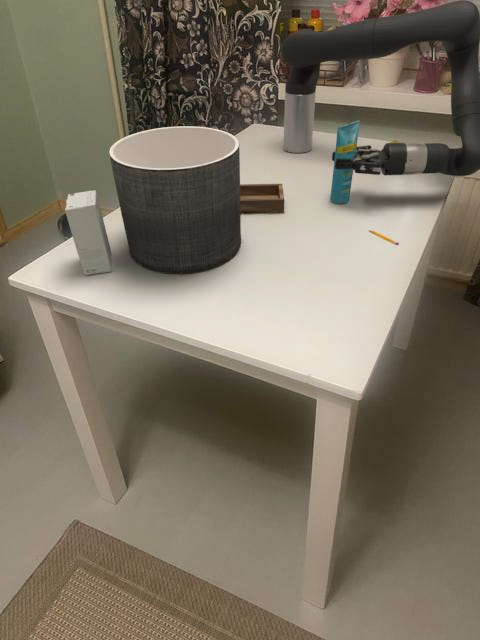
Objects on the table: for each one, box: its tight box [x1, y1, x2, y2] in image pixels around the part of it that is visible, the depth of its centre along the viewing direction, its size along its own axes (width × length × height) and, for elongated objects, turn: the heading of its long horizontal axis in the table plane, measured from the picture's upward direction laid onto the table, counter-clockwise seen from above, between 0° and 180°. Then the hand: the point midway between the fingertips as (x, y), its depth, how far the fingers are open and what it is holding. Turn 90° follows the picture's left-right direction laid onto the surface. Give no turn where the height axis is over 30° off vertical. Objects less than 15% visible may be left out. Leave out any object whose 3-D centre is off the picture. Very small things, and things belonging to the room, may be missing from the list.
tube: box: [329, 119, 361, 205], centre depth 116 cm, size 7×5×19 cm, turn 134°
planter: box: [108, 125, 242, 275], centre depth 99 cm, size 25×25×22 cm
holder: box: [240, 183, 285, 215], centre depth 120 cm, size 10×12×4 cm
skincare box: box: [64, 189, 113, 276], centre depth 96 cm, size 8×6×15 cm
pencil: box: [368, 229, 400, 246], centre depth 107 cm, size 1×9×1 cm, turn 36°
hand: (334, 160), depth 116 cm, fingers closed on tube, 4 cm apart
